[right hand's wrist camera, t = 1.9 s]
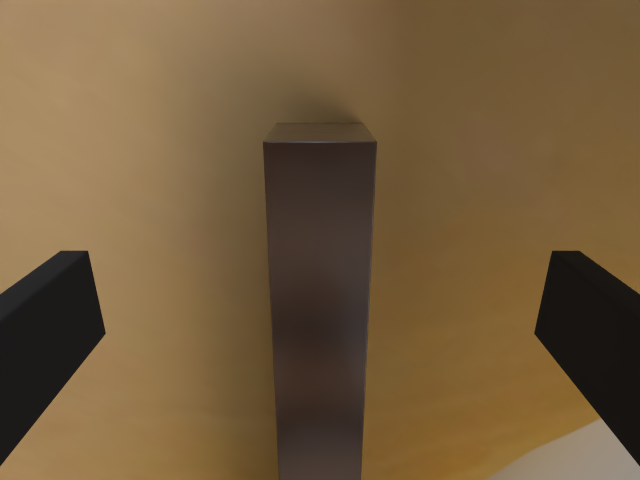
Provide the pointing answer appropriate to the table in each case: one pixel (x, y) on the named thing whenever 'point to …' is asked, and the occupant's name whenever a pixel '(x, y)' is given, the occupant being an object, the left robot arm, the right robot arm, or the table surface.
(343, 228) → the walnut beam
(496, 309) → the table surface
